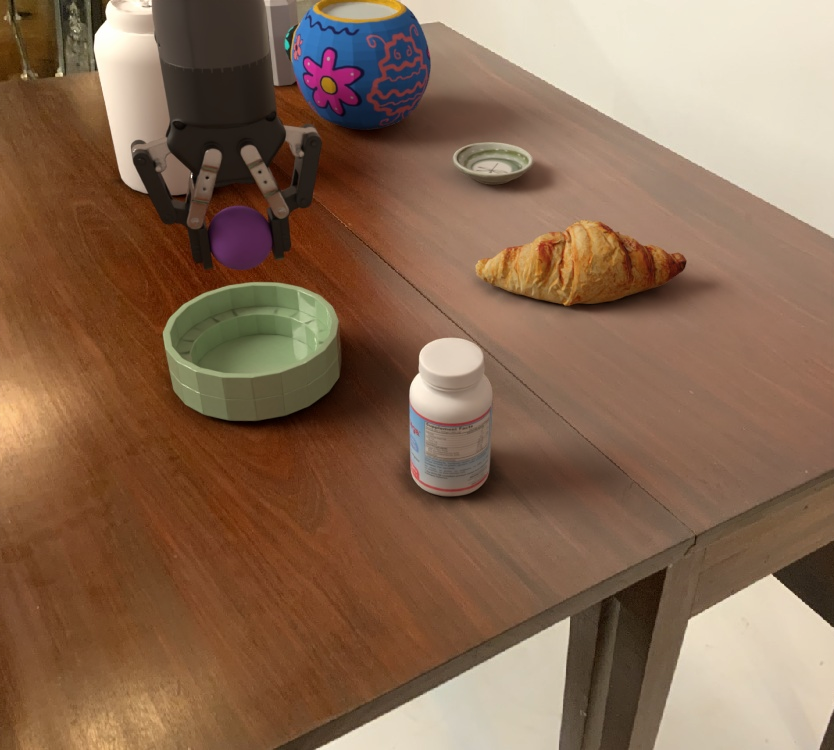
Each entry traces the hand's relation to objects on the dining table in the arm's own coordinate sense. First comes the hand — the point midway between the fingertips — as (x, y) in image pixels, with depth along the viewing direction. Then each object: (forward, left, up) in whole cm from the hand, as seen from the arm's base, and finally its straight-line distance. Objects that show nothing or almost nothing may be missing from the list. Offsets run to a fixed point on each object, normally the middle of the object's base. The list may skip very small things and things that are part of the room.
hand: (243, 258), depth 77 cm
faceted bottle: (+14, +70, -12) cm, 72 cm away
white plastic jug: (-3, +42, -12) cm, 44 cm away
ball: (0, 0, +2) cm, 2 cm away
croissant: (+33, +6, -12) cm, 36 cm away
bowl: (0, 0, -11) cm, 11 cm away
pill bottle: (+12, -17, -12) cm, 24 cm away
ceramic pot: (+22, +52, -12) cm, 58 cm away
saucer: (+33, +32, -12) cm, 47 cm away
